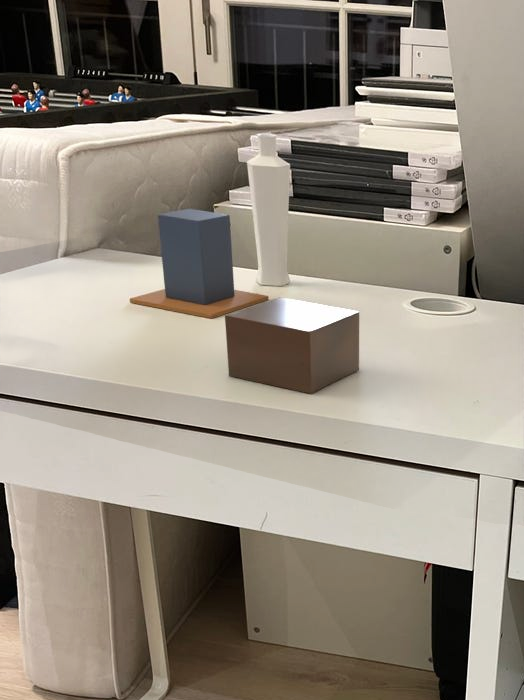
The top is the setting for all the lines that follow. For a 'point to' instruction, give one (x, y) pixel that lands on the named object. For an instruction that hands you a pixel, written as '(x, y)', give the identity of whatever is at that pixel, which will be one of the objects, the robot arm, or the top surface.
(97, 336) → the top surface
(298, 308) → the base block
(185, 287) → the top block
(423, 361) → the top surface
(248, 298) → the cork mat
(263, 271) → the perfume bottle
